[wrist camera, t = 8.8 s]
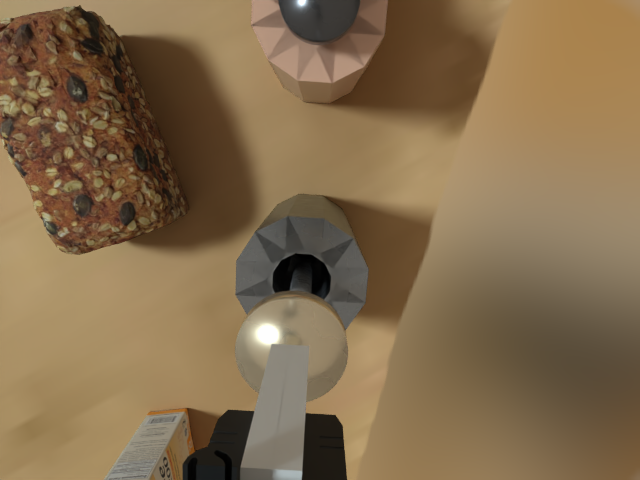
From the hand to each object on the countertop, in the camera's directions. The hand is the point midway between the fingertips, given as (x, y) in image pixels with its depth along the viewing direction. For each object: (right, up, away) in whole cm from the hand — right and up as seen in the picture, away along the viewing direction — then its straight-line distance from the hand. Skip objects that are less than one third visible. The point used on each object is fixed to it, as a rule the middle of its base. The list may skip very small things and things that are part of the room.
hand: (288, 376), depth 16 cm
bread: (-19, +15, +25) cm, 35 cm away
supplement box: (-16, -18, +32) cm, 39 cm away
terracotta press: (+1, +25, +22) cm, 33 cm away
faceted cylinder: (0, +4, +27) cm, 27 cm away
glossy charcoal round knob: (+1, +23, +20) cm, 30 cm away
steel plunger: (0, +3, +14) cm, 15 cm away
